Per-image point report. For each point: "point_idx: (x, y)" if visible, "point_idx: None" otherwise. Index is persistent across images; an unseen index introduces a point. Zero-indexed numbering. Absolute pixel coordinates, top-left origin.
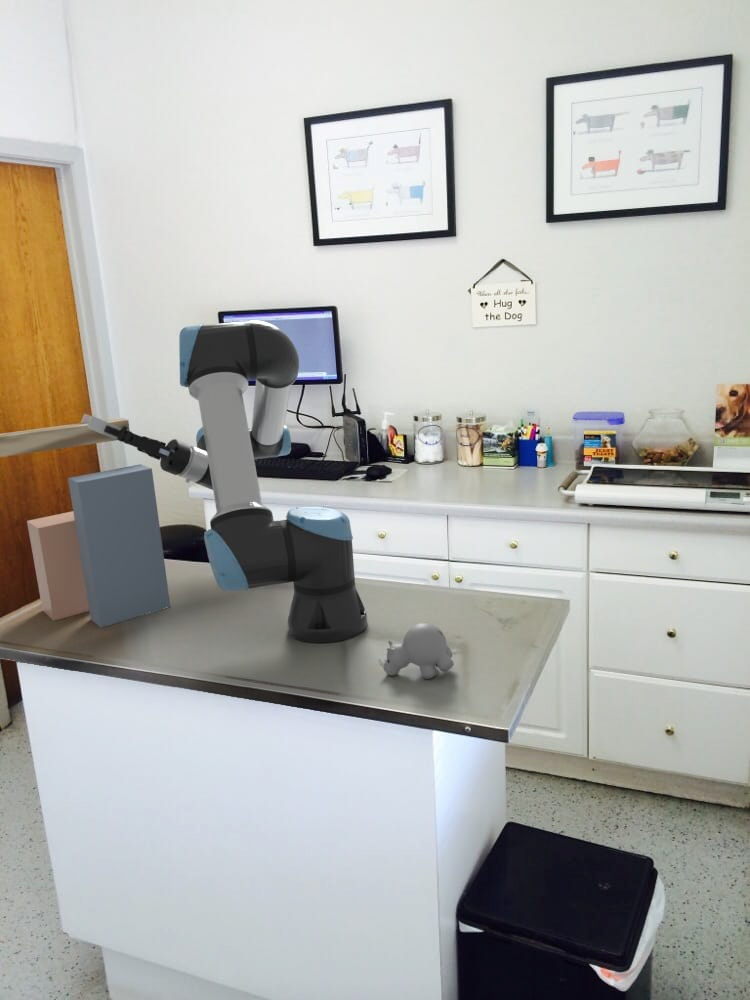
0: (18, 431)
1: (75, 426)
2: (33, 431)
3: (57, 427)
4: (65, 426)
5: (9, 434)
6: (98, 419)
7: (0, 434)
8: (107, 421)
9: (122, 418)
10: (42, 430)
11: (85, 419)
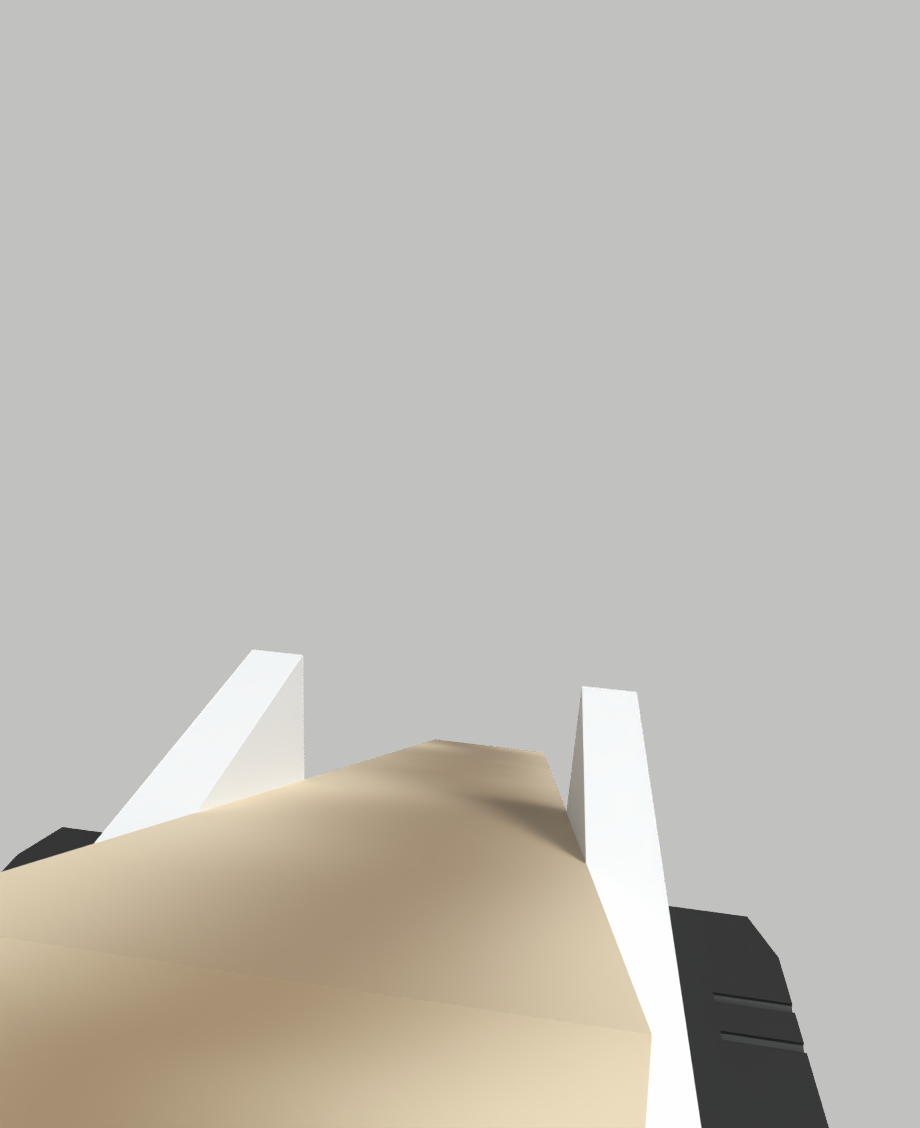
0: (544, 761)
1: (357, 771)
2: (448, 754)
3: (476, 772)
4: (467, 778)
5: (467, 748)
6: (211, 708)
7: (518, 752)
8: (314, 834)
9: (410, 978)
10: (431, 756)
11: (572, 771)
